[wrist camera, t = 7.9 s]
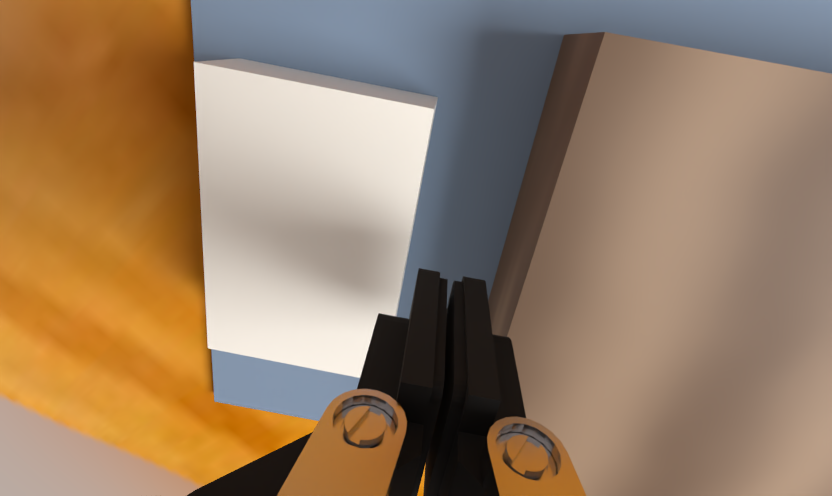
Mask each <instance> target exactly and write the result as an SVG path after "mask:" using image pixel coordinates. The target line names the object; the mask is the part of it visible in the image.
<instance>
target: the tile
mask: <svg viewBox="0 0 832 496" xmlns="http://www.w3.org/2000/svg"><path fill="white" fill-rule="evenodd" d="M194 80H195V100H196V120H197V140H198V160H199V180H200V200H201V220H202V240H203V260H204V280H205V300H206V321H207V341H208V348H209V349H214V350H219V351H224V352H229V353H234V354H239V355H245V356H250V357H255V358H260V359H265V360H270V361H275V362H281V363H286V364H291V365H296V366H301V367H306V368H311V369H317V370H322V371H327V372H332V373H337V374H342V375H347V376H352V377H358V378H360V376H361V373H362V369H363V366H364V362H365V359H366V355H367V352H368V348H369V345H370V341H371V337H372V334H373V330H374V327H375V323H376V320H377V316H378V314H379V313H380V314H386V315H391V316H397V311H398V305H399V300H400V295H401V289H402V284H403V279H404V274H405V268H406V263H407V258H408V252H409V247H410V242H411V237H412V231H413V226H414V221H415V215H416V210H417V205H418V200H419V194H420V189H421V184H422V178H423V173H424V168H425V163H426V157H427V152H428V147H429V142H430V136H431V131H432V126H433V120H434V115H435V110H436V105H437V99H438V97H434V96H429V95H424V94H419V93H414V92H408V91H403V90H398V89H393V88H388V87H383V86H378V85H373V84H368V83H363V82H358V81H353V80H347V79H342V78H337V77H332V76H327V75H322V74H317V73H312V72H307V71H302V70H297V69H292V68H286V67H281V66H276V65H271V64H266V63H261V62H256V61H251V60H246V59H241V58H237V59H224V60H211V61H198V62H194Z"/></svg>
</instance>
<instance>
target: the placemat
mask: <svg viewBox="0 0 832 496" xmlns="http://www.w3.org/2000/svg"><path fill="white" fill-rule="evenodd" d="M191 13H192V30H193V47H194V62H198V61H211V60H224V59H237V58H241V59H246V60H251V61H256V62H261V63H266V64H271V65H276V66H281V67H286V68H292V69H297V70H302V71H307V72H312V73H317V74H322V75H327V76H332V77H337V78H342V79H347V80H353V81H358V82H363V83H368V84H373V85H378V86H383V87H388V88H393V89H398V90H403V91H408V92H414V93H419V94H424V95H429V96H434V97H438V99H437V105H436V110H435V115H434V120H433V126H432V131H431V136H430V142H429V147H428V152H427V157H426V163H425V168H424V173H423V178H422V184H421V189H420V194H419V200H418V205H417V210H416V215H415V221H414V226H413V231H412V237H411V242H410V247H409V252H408V258H407V263H406V268H405V274H404V279H403V284H402V289H401V295H400V300H399V305H398V311H397V317H402V318H407V319H409V316H410V311H411V305H412V300H413V295H414V290H415V285H416V279H417V274H418V269H419V268H421V269H427V270H432V271H438V272H440V278H444V279H448V283H447V306H448V302H449V297H450V293H451V289H452V285H453V282H454V280H455V281H460V282H461V281H462V278H463V276H465V277H470V278H475V279H481V280H485V281H486V287H487V295H488V300H489V296H490V293H491V289H492V286H493V282H494V279H495V275H496V272H497V268H498V265H499V261H500V258H501V254H502V251H503V247H504V244H505V240H506V237H507V233H508V229H509V226H510V222H511V219H512V215H513V212H514V208H515V205H516V201H517V198H518V194H519V191H520V187H521V184H522V180H523V177H524V173H525V170H526V166H527V163H528V159H529V156H530V152H531V149H532V145H533V142H534V138H535V135H536V131H537V128H538V124H539V121H540V117H541V114H542V110H543V107H544V103H545V100H546V96H547V93H548V89H549V86H550V82H551V79H552V75H553V72H554V68H555V65H556V61H557V58H558V54H559V51H560V47H561V43H562V40H563V36H564V35H567V34H582V33H597V32H608V33H614V34H619V35H624V36H630V37H635V38H641V39H646V40H652V41H657V42H662V43H668V44H673V45H679V46H684V47H690V48H695V49H701V50H706V51H711V52H717V53H722V54H728V55H733V56H739V57H744V58H749V59H755V60H760V61H766V62H771V63H777V64H782V65H787V66H793V67H798V68H804V69H809V70H815V71H820V72H826V73H831V74H832V0H191ZM211 351H212V368H213V385H214V401H215V402H220V403H226V404H231V405H236V406H242V407H247V408H253V409H258V410H263V411H269V412H274V413H279V414H285V415H290V416H295V417H301V418H306V419H312V420H317V421H319V420H320V418H321V417H322V415H323V413H324V411H325V410H326V408H327V407H328V405H329V404H330V403H331V402H332V400H333V399H334V398H336V397H338V396H339V395H341V394H342V393H344V392H348V391H351V390H354V389H357V387H358V383H359V380H360V378H358V377H352V376H347V375H342V374H337V373H332V372H327V371H322V370H317V369H311V368H306V367H301V366H296V365H291V364H286V363H281V362H275V361H270V360H265V359H260V358H255V357H250V356H245V355H239V354H234V353H229V352H224V351H219V350H214V349H211Z"/></svg>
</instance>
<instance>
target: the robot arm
mask: <svg viewBox="0 0 832 496" xmlns="http://www.w3.org/2000/svg"><path fill="white" fill-rule="evenodd" d="M447 283H448V279H444V278H440V272H438V271H432V270H427V269H421V268H419V269H418V274H417V279H416V285H415V290H414V295H413V300H412V305H411V311H410V316H409V319H407V318H402V317H397V316H391V315H386V314H380V313H379V314H378V316H377V320H376V323H375V327H374V330H373V334H372V337H371V341H370V345H369V348H368V352H367V355H366V359H365V362H364V366H363V369H362V373H361V376H360V380H359V383H358V387H357V389H354V390H351V391H348V392H344V393H342V394H341V395H339V396H338V397H336V398H334V399H333V400H332V402H331V403H330V404H329V405H328V407H327V408H326V410H325V411H324V413H323V415H322V417H321V418H320V420H319V422H318V424H317V426H316V427H315V429H314V431H313V432H312V433H310V434H308V435H306V436H304V437H302V438H300V439H298V440H296V441H294V442H292V443H290V444H288V445H286V446H284V447H282V448H280V449H278V450H276V451H273V452H271V453H269V454H267V455H265V456H263V457H261V458H259V459H257V460H255V461H253V462H251V463H249V464H247V465H245V466H243V467H241V468H239V469H237V470H235V471H233V472H231V473H229V474H227V475H225V476H223V477H221V478H219V479H217V480H215V481H213V482H211V483H209V484H207V485H205V486H203V487H201V488H199V489H197V490H195V491H193V492H192V493H190V494H189V495H187V496H417V493H418V489H419V486H420V482H421V478H422V474H423V470H424V466H425V462H426V467H425V481H424V496H586V494H585V491H584V489H583V487H582V485H581V482H580V480H579V478H578V475H577V473H576V471H575V468H574V466H573V464H572V461H571V459H570V457H569V454H568V452H567V451H566V449H565V447H564V446H563V444H562V442H561V441H560V440H559V439H558V438H557V437H556V436H555V435H554V433H553V432H552V431H550V430H549V429H547V428H546V427H544V426H543V425H541V424H540V423H537V422H535V421H533V420H530V419H527V418H526V414H525V409H524V403H523V398H522V393H521V387H520V382H519V377H518V372H517V366H516V361H515V356H514V351H513V345H512V341H511V339H510V338H509V337H504V336H499V335H494V334H492V326H491V319H490V311H489V303H488V295H487V287H486V281H485V280H481V279H475V278H470V277H465V276H463V278H462V281H461V282H460V281H455V280H454V282H453V285H452V289H451V293H450V297H449V302H448V306H447Z"/></svg>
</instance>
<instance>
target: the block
mask: <svg viewBox="0 0 832 496" xmlns="http://www.w3.org/2000/svg"><path fill="white" fill-rule="evenodd" d="M488 303H489V311H490V319H491V326H492V334H494V335H499V336H504V337H509V338H510V339H511V341H512V345H513V351H514V356H515V361H516V366H517V372H518V377H519V382H520V387H521V393H522V398H523V403H524V409H525V414H526V418H527V419H530V420H533V421H535V422H537V423H540V424H541V425H543V426H544V427H546V428H547V429H549V430H550V431H552V432H553V433H554V435H555V436H556V437H557V438H558V439H559V440H560V441H561V442H562V444H563V446H564V447H565V449H566V451H567V452H568V454H569V457H570V459H571V461H572V464H573V466H574V468H575V471H576V473H577V475H578V478H579V480H580V482H581V485H582V487H583V489H584V491H585V494H586V496H832V74H831V73H826V72H820V71H815V70H809V69H804V68H798V67H793V66H787V65H782V64H777V63H771V62H766V61H760V60H755V59H749V58H744V57H739V56H733V55H728V54H722V53H717V52H711V51H706V50H701V49H695V48H690V47H684V46H679V45H673V44H668V43H662V42H657V41H652V40H646V39H641V38H635V37H630V36H624V35H619V34H614V33H608V32H597V33H582V34H567V35H564V36H563V40H562V43H561V47H560V51H559V54H558V58H557V61H556V65H555V68H554V72H553V75H552V79H551V82H550V86H549V89H548V93H547V96H546V100H545V103H544V107H543V110H542V114H541V117H540V121H539V124H538V128H537V131H536V135H535V138H534V142H533V145H532V149H531V152H530V156H529V159H528V163H527V166H526V170H525V173H524V177H523V180H522V184H521V187H520V191H519V194H518V198H517V201H516V205H515V208H514V212H513V215H512V219H511V222H510V226H509V229H508V233H507V237H506V240H505V244H504V247H503V251H502V254H501V258H500V261H499V265H498V268H497V272H496V275H495V279H494V282H493V286H492V289H491V293H490V296H489V300H488Z"/></svg>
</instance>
